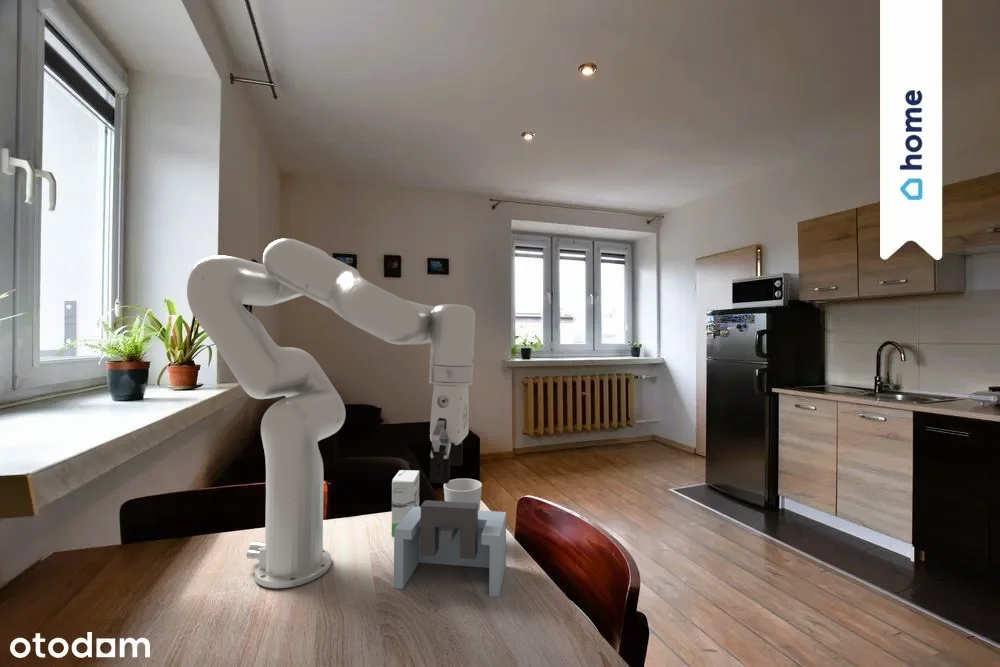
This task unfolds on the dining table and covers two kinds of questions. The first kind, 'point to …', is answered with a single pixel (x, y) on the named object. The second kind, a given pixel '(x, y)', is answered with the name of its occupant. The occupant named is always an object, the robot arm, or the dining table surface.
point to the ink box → (404, 495)
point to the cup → (463, 491)
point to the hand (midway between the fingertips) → (446, 473)
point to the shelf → (452, 548)
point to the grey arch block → (449, 526)
